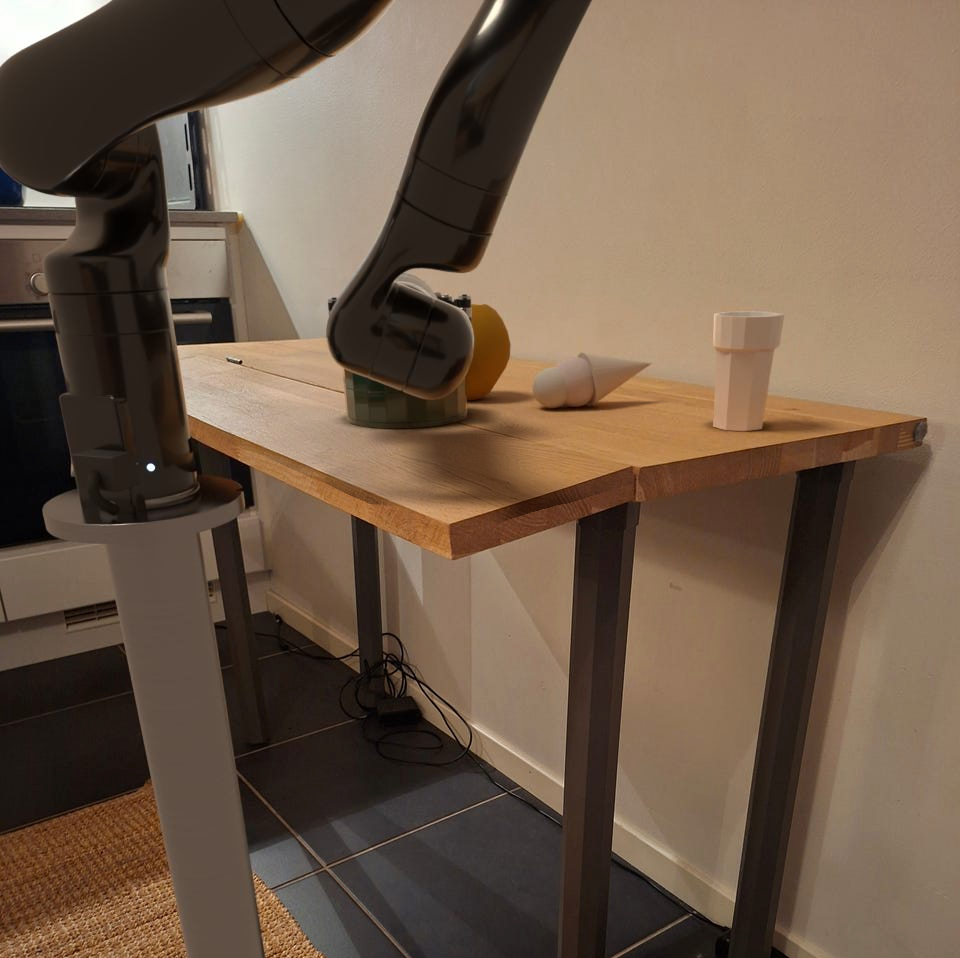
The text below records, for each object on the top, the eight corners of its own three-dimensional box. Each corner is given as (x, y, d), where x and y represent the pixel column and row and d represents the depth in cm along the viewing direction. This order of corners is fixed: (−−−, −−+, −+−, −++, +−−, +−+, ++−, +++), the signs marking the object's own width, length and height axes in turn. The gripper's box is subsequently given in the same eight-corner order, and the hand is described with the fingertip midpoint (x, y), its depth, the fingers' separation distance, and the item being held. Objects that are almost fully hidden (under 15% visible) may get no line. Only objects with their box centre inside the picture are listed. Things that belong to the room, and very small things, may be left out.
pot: (436, 431, 94) (433, 362, 92) (324, 424, 99) (318, 358, 96) (485, 409, 106) (484, 347, 103) (382, 404, 111) (378, 344, 108)
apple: (525, 396, 114) (526, 297, 109) (475, 407, 107) (472, 302, 103) (468, 389, 120) (466, 295, 115) (417, 399, 113) (412, 299, 108)
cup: (693, 427, 94) (702, 315, 89) (724, 417, 98) (734, 310, 94) (752, 435, 90) (764, 318, 85) (782, 424, 94) (795, 312, 90)
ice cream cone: (657, 399, 108) (540, 429, 106) (637, 362, 111) (522, 390, 108) (668, 363, 103) (545, 394, 100) (647, 325, 105) (526, 354, 103)
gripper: (479, 272, 80) (466, 267, 95) (316, 276, 79) (329, 270, 94) (480, 360, 83) (468, 342, 98) (324, 365, 82) (335, 345, 97)
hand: (400, 306), depth 96 cm, fingers open, 8 cm apart
